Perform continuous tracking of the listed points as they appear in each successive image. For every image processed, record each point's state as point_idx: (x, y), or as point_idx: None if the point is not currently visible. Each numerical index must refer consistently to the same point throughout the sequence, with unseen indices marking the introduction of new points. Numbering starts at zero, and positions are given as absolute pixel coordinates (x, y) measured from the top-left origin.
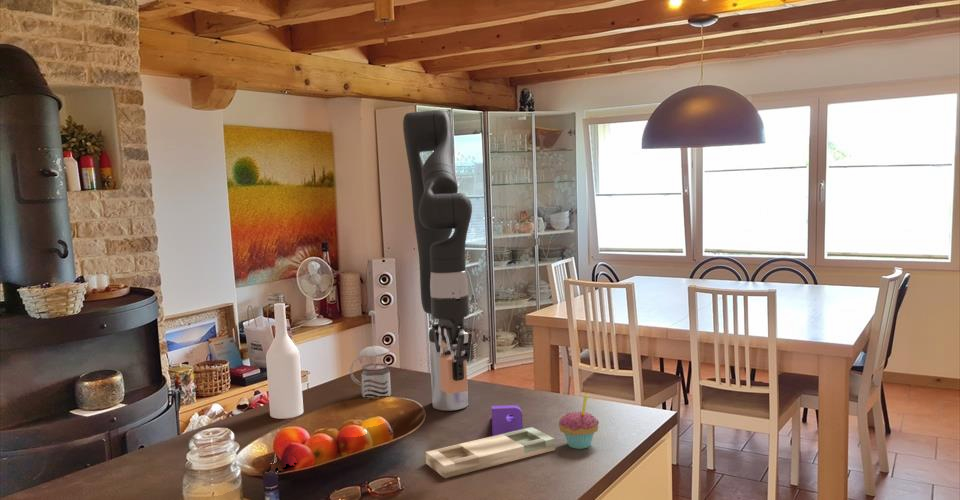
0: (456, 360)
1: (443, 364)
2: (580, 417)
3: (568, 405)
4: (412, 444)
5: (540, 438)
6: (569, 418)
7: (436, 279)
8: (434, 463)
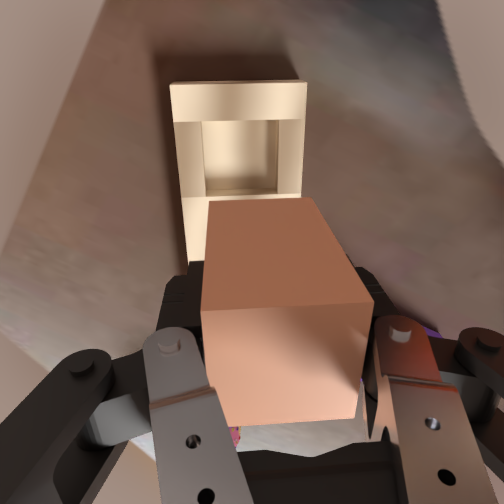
0: (103, 351)
1: (285, 275)
2: None
3: None
4: (453, 105)
5: None
6: None
7: None
8: (241, 82)
